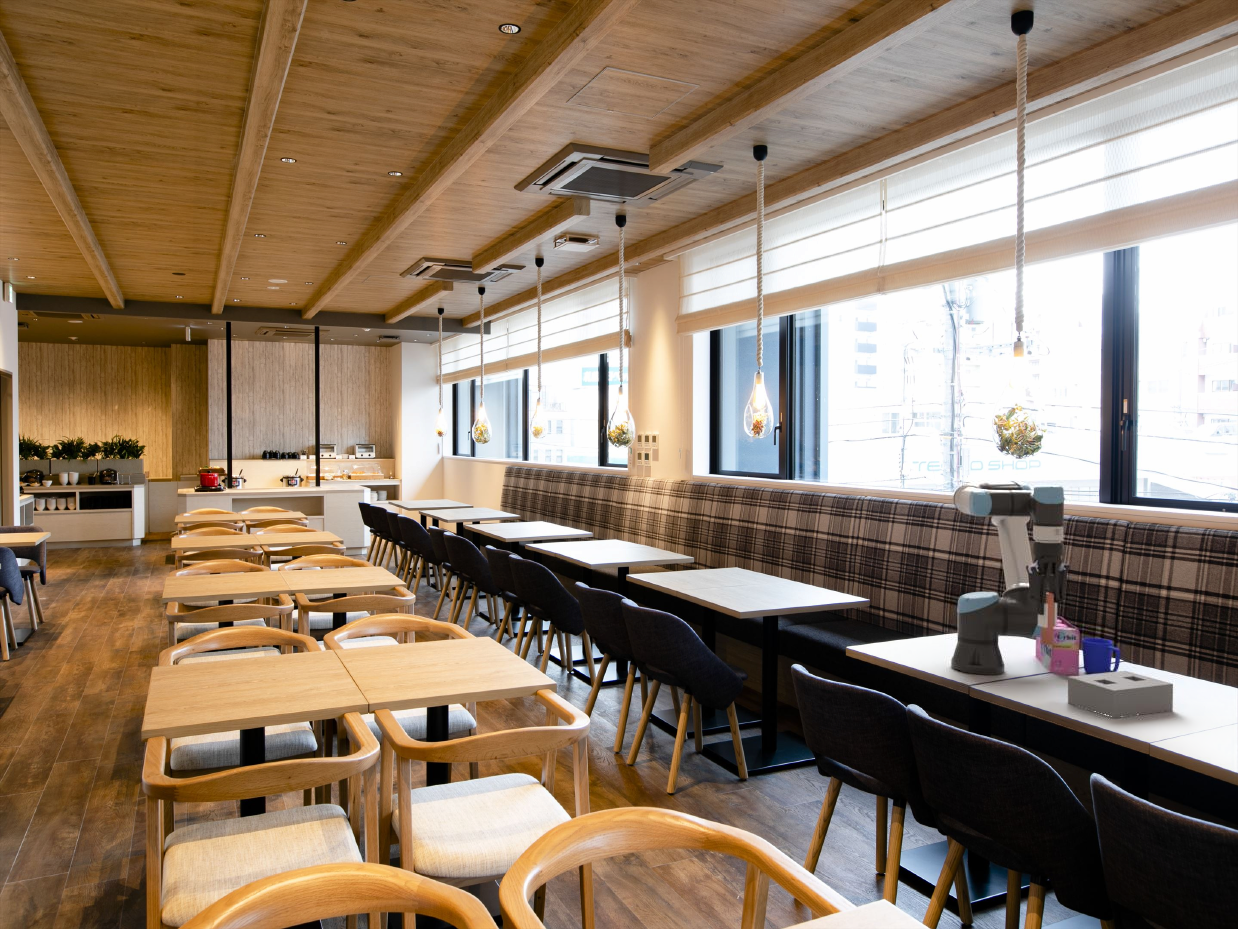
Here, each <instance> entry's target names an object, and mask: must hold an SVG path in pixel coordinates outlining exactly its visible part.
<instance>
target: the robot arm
mask: <svg viewBox="0 0 1238 929" xmlns="http://www.w3.org/2000/svg"><path fill="white" fill-rule="evenodd" d="M1064 491H1065V490H1064V487H1063V486H1061V485H1052V484H1050V485H1049V484H1048V485H1047V484H1044V485H1043V484H1039V485H1035V486H1034V487H1033V489H1032V488H1031V487H1030V486H1029V484H1027V483H1025V482H1022V481H1014V480H1012V481H1011V480H1010V481H973V482H968V483H964V484H962V485H961V486H959V487H957V489H956V490H955V491H954V494H953V496H952V499H953V504H954V507H955V508H956V509H957V510H958V511H959V512H960V513H962V514H966V515H970V516H974V517H975V516H976V517H990V518H991V523H992V524H993V525H994V526H996V527H997V533H998V539H999V546H1000V553H1001V560H1002V568H1003V573H1004V579H1005V580H1004V581H1005V588H1006V589H1005V591H1004V592H1003V593H1002V594H1001V595H1002V597H1000V595H999V593H997V592H995V591H975V592H968V593H965V594H962V595H960V596H959V597H958V600H957V609H956V612H957V640H956V641H957V642H956V646H955V649H954V652H953V655H952V658H951V660H950V661H951V662H950V663H951V664H950V666H952V667H953V668H954V670H955V669H957V670H956V671H958V670H960V671H959V672H962V671H963V673H966V672H970V673H969V674H972V673H977V674H976V675H983V674H993V675H999V674H1003V673H1004V672H1005V662H1004V660H1003V657H1002V656H1003V655H1002V653H1001V650H1000V646H999V637H1013V638H1014V637H1018V638H1031V639H1034V638H1036V637H1041V627H1045V628H1046V627H1048V604H1047V603H1045V601H1046V593H1053V594H1054V627H1057V616H1058V614H1059V604H1062V603H1063V601H1065V599H1066V591H1067V580H1068V579H1067V578H1068V572H1069V571H1070V567H1071V566H1070V564H1067V563H1064V562H1063V560H1062V557H1063V556H1064V543H1063V542H1062V541H1064V521H1065V520H1064V518H1065V516H1064V514H1065V511H1064V508H1065V507H1064V506H1065V505H1064V504H1065V499H1066V498H1065V492H1064ZM1031 517H1032V519H1033V522H1032V524H1033V526H1032V527H1033V529H1032V539H1033V540H1034V541H1033V542H1032V552H1031V545H1030V544H1031V543H1030V538H1029V535H1028V534H1029V533H1028V527H1027V523H1028V522H1030V519H1031ZM1032 554H1033V556H1034V560H1033V558H1032ZM1047 589H1048V592H1047ZM952 667H951V668H952ZM953 668H952V669H953Z"/></svg>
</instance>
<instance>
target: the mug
mask: <svg viewBox="0 0 1238 929" xmlns="http://www.w3.org/2000/svg"><path fill="white" fill-rule="evenodd" d="M1081 647H1082V659H1083V669H1084V672H1085V673H1086V674H1088V675H1090V674H1099V673H1109V672H1118V670H1119V668H1120V667H1119V666H1120V661H1121V649H1119V648H1118V647H1115V646H1114V642H1113V641H1112V640H1109V639H1106V638H1100V637H1099V638H1098V637H1085V638H1082V639H1081ZM1113 651H1115V659H1114V660H1115V661H1114V666H1113V669H1111V667H1112V657H1113Z"/></svg>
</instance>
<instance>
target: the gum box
mask: <svg viewBox="0 0 1238 929" xmlns="http://www.w3.org/2000/svg"><path fill="white" fill-rule="evenodd" d="M1080 637H1081V636H1080V630H1079V629H1078V627H1077V626H1075V625H1073V624H1072V623H1070V622H1069V621H1067V620H1066V619H1065V618H1064V617H1063V616H1060V615H1057V627H1054V629H1053V645H1043V644H1041V637H1035V657H1036V659H1038V660H1039V661H1040V662H1041V664H1043V666H1044V665H1045V666H1046V667H1047V668H1046V669H1047V670H1048V669H1049V670H1048V671H1049V672H1050V673H1051V674H1063V675H1079V674H1080V639H1081V638H1080ZM1045 666H1044V667H1045Z"/></svg>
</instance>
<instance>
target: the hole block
mask: <svg viewBox="0 0 1238 929" xmlns="http://www.w3.org/2000/svg"><path fill="white" fill-rule="evenodd" d="M1067 684H1068V685H1067V704H1069V703H1071V704H1070V705H1072V704H1073V706H1075V705H1077V706H1076V707H1078V706H1080V707H1079V708H1081V707H1083V708H1082V709H1084V708H1087V709H1089V710H1088V711H1090V710H1092V711H1091V712H1093V711H1096V712H1099V713H1102V714H1106V715H1109V716H1112V717H1121V716H1129V717H1131V716H1130V715H1137V714H1145V715H1151V714H1150V713H1152V714H1158V713H1157V712H1160V713H1166V712H1165V711H1168V712H1173V711H1174V706H1173V705H1174V683H1172V682H1167V681H1164V680H1160V679H1156V678H1152V677H1150V676H1147V675H1143V674H1138V673H1136V672H1135V673H1134V672H1131V671H1128V670H1120V671H1118V670H1117V671H1116V672H1109V673H1099V674H1083V675H1081V674H1080V675H1073V676H1067ZM1087 709H1086V710H1087ZM1096 712H1095V713H1096ZM1099 713H1098V714H1099ZM1102 714H1101V715H1102ZM1137 716H1138V715H1137ZM1121 718H1122V717H1121Z"/></svg>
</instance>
